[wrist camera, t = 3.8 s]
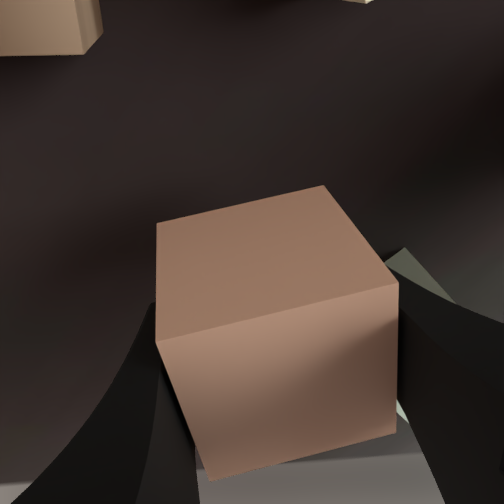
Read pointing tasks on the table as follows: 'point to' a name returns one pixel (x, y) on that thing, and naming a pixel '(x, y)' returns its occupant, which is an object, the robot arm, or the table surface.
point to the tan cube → (48, 27)
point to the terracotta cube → (276, 330)
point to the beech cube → (359, 1)
